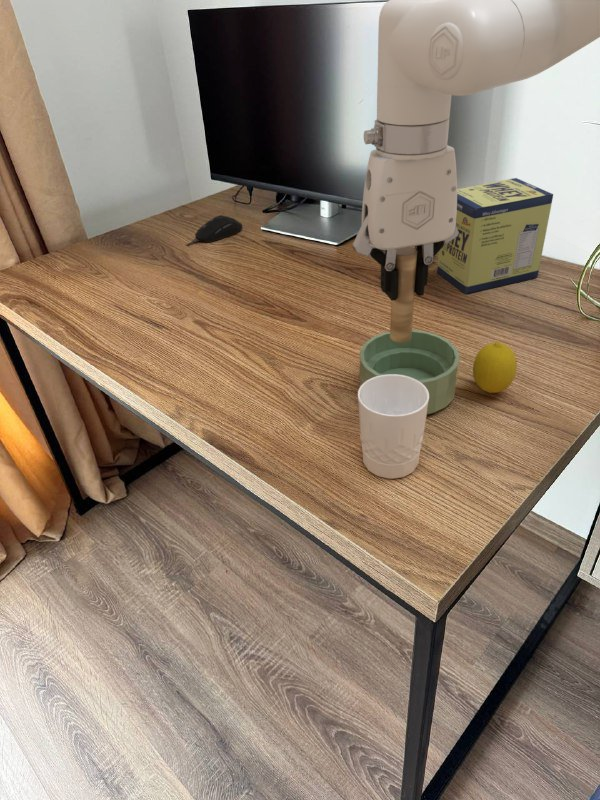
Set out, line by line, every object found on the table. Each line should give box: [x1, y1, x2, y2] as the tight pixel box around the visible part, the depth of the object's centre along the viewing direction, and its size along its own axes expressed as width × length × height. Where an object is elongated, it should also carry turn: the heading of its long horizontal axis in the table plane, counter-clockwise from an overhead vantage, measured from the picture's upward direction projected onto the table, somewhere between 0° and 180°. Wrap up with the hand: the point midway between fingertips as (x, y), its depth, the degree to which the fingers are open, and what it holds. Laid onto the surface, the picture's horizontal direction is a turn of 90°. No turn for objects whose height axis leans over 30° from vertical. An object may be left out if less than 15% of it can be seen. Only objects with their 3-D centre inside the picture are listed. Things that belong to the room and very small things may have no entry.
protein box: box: [436, 177, 554, 295], centre depth 105 cm, size 10×16×16 cm
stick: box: [389, 246, 417, 343], centre depth 74 cm, size 3×3×12 cm
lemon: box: [472, 341, 518, 394], centre depth 78 cm, size 6×6×8 cm
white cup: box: [357, 374, 429, 480], centre depth 68 cm, size 8×8×10 cm
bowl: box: [359, 329, 461, 415], centre depth 81 cm, size 13×13×6 cm
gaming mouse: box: [186, 214, 243, 247], centre depth 133 cm, size 6×15×4 cm, turn 131°
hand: (403, 292), depth 73 cm, fingers closed on stick, 2 cm apart
